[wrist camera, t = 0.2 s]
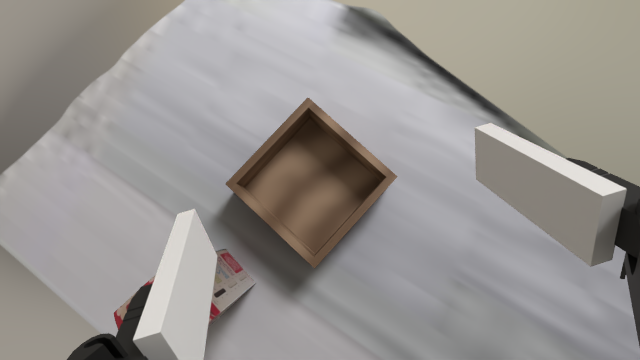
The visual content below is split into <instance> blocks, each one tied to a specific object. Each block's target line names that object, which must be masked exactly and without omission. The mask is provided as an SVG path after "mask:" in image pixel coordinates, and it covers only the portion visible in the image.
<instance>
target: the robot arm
mask: <svg viewBox="0 0 640 360" xmlns="http://www.w3.org/2000/svg"><path fill="white" fill-rule="evenodd" d="M475 154H476V180H478V181H479V182H480V183H482V184H483V185H484V186H486V187H487V188H488V189H490V190H491V191H492V192H494V193H495V194H496V195H497V196H499V197H500V198H501V199H503V200H504V201H505V202H507V203H508V204H509V205H511V206H512V207H513V208H514V209H516V210H517V211H518V212H520V213H521V214H522V215H524V216H525V217H526V218H528V219H529V220H530V221H532V222H533V223H534V224H535V225H537V226H538V227H539V228H541V229H542V230H543V231H545V232H546V233H547V234H549V235H550V236H551V237H552V238H554V239H555V240H556V241H558V242H559V243H560V244H562V245H563V246H564V247H566V248H567V249H568V250H570V251H571V252H572V253H573V254H575V255H576V256H577V257H579V258H580V259H581V260H583V261H584V262H585V263H587V264H588V265H589V266H590V267H591V266H594V265H597V264H600V263H603V262H607V261H610V260H612V258H613V253H614V248H615V245H616V246H618V247H619V248H621V249H623V250H624V251H626V254H625V259H624V263H623V267H622V271H621V276H620V278H621V279H625V275H627V280H628V286H629V291H630V297H631V302H632V308H633V313H634V319H635V324H636V330H637V335H638V341H639V346H640V187H639V186H637V185H634V184H632V183H630V182H628V181H626V180H623V179H621V178H619V177H617V176H615V175H613V174H608V172H606V171H604V170H602V169H598V168H597V167H595V166H593V165H591V164H589V163H587V162H584V161H580V160H575V159H571V158H566V159H564V158H562V157H560V156H558V155H556V154H554V153H552V152H550V151H548V150H545V149H543V148H541V147H539V146H537V145H535V144H533V143H531V142H529V141H527V140H525V139H523V138H521V137H518V136H516V135H514V134H512V133H510V132H508V131H506V130H504V129H502V128H500V127H498V126H496V125H494V124H492V123H489V124H485V125H482V126H478V127H475ZM216 264H217V254H216V252H215V250H214V248H213V246H212V244H211V242H210V240H209V238H208V235H207V233H206V231H205V229H204V227H203V225H202V223H201V221H200V219H199V217H198V214H197V212H196V210H195V209H193V210H189V211H186V212H183V213H179V214H178V215H177V218H176V220H175V223H174V226H173V229H172V232H171V234H170V237H169V240H168V243H167V246H166V248H165V251H164V254H163V257H162V260H161V262H160V265H159V268H158V271H157V274H156V276H155V279H154V282H153V283H152V284H149V285H146V286H142V287H141V288H140V289H139V290H138V291H137V293H136V294H135V295H134V296H133V298H132V299H131V301H130V304H129V306H128V308H127V313H125V316H124V318H123V323H121V325H120V328H119V330H118V333H117V335H116V338H115V336H113V335H111V334H109V333H108V334H100V335H97V336H95V337H92V338H90V339H89V340H87V341H86V342H84V343H82V344H81V345H80V346H79V347H78V348H77V349H76V350H74V351H73V352H72V354H71V355H70V356H69V358H68V359H67V360H204V352H205V345H206V338H207V330H208V323H209V315H210V308H211V301H212V293H213V286H214V279H215V271H216Z"/></svg>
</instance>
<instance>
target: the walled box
mask: <svg viewBox="0 0 640 360" xmlns="http://www.w3.org/2000/svg"><path fill="white" fill-rule="evenodd" d="M396 178H397V176H396V175H395V174H394V173H393V172H392V171H391V170H390V169H388V168H387V167H386V166H385V165H384V164H383V163H382V162H380V161H379V160H378V159H377V158H376V157H375V156H374V155H373V154H371V153H370V152H369V151H368V150H367V149H366V148H365V147H364V146H362V145H361V144H360V143H359V142H358V141H357V140H356V139H354V138H353V137H352V136H351V135H350V134H349V133H348V132H347V131H345V130H344V129H343V128H342V127H341V126H340V125H339V124H338V123H336V122H335V121H334V120H333V119H332V118H331V117H330V116H328V115H327V114H326V113H325V112H324V111H323V110H322V109H321V108H319V107H318V106H317V105H316V104H315V103H314V102H313V101H312V100H310V99H309V98H307V99H306V100H305V101H304V102H303V103H302V104H301V105H300V106H299V107H298V108H297V109H296V110H295V111H294V113H293V114H292V115H291V116H290V117H289V118H288V119H287V120H286V121H285V122H284V123H283V124H282V125H281V126H280V127H279V128H278V129H277V130H276V131H275V132H274V133H273V135H272V136H271V137H270V138H269V139H268V140H267V141H266V142H265V143H264V144H263V145H262V146H261V147H260V148H259V149H258V150H257V151H256V152H255V153H254V154H253V155H252V157H251V158H250V159H249V160H248V161H247V162H246V163H245V164H244V165H243V166H242V167H241V168H240V169H239V170H238V171H237V172H236V173H235V174H234V175H233V176H232V178H231V179H230V180H229V181H228V182H227V183H226V185H227V186H228V187H229V188H230V189H231V190H232V191H233V192H234V193H235V194H237V195H238V196H239V197H240V198H241V199H242V200H243V201H244V202H245V203H246V204H247V205H248V206H249V207H250V208H251V209H252V210H253V211H254V212H255V213H257V214H258V215H259V216H260V217H261V218H262V219H263V220H264V221H265V222H266V223H267V224H268V225H269V226H270V227H271V228H272V229H273V230H274V231H276V232H277V233H278V234H279V235H280V236H281V237H282V238H283V239H284V240H285V241H286V242H287V243H288V244H289V245H290V246H291V247H292V248H293V249H295V250H296V251H297V252H298V253H299V254H300V255H301V256H302V257H303V258H304V259H305V260H306V261H307V262H308V263H309V264H310V265H311V266H312V267H314V268H315V267H316V266H317V265H318V264H319V263H320V262H321V261H322V260H323V258H324V257H325V256H326V255H327V254H328V253H329V252H330V251H331V250H332V248H333V247H334V246H335V245H336V244H337V243H338V242H339V241H340V240H341V238H342V237H343V236H344V235H345V234H346V233H347V232H348V231H349V230H350V229H351V227H352V226H353V225H354V224H355V223H356V222H357V221H358V220H359V219H360V217H361V216H362V215H363V214H364V213H365V212H366V211H367V210H368V209H369V208H370V206H371V205H372V204H373V203H374V202H375V201H376V200H377V199H378V198H379V196H380V195H381V194H382V193H383V192H384V191H385V190H386V189H387V188H388V186H389V185H390V184H391V183H392V182H393V181H394V180H395V179H396Z"/></svg>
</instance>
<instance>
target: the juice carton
mask: <svg viewBox="0 0 640 360" xmlns="http://www.w3.org/2000/svg"><path fill="white" fill-rule="evenodd" d="M215 252H216V254H217V264H216V271H215V279H214V286H213V293H212V301H211V308H210V315H209V323H208V327H209V326H210V325H211V324H212V323H213V322H214V321H216V320H217V319H218V318H219V317H220V316H221V315H222V314H223V313H225V312H226V311H227V310H228V309H229V308H230V307H231V306H232V305H233V304H234V303H235V302H236V301H237V300H238V299H239V298H240V297H242V296H243V295H244V294H245V293H246V292H247V291H248V290H249V289H250V288H251V287H252V286H253V285H254V284H255V282H254V280H253V279H252V278H251V277H250V276H249V275H248V274H247V272H246V271H245V270H244V269H243V268H242V267H241V266H240V264H239V263H238V262H237V261H236V260H235V259H234V258H233V257H232V255H231V254H230V253H229V252H228V251H227V250H226V249H223V250H219V251H215ZM155 276H156V275H155ZM155 276H154V277H153V278H152V279H150V280H149V281H148V282H147V283H146V284H145V285H144V286H146V285H149V284H152V283H153V282H154V279H155ZM136 293H137V292H136ZM136 293H135V294H136ZM135 294H134V295H135ZM134 295H133V296H134ZM133 296H132V297H131V298H130V299H129V300H127V301H126V302H125V303H124V304H123V305H122V306H121V307H120V308H119V309H118V310H117V311H115V312H114V317H115V321H116V324H117V327H118V330H119V328H120V325H121V323H123V318H124V316H125V313H127V308H128V306H129V304H130V301H131V299H132V298H133Z"/></svg>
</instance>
